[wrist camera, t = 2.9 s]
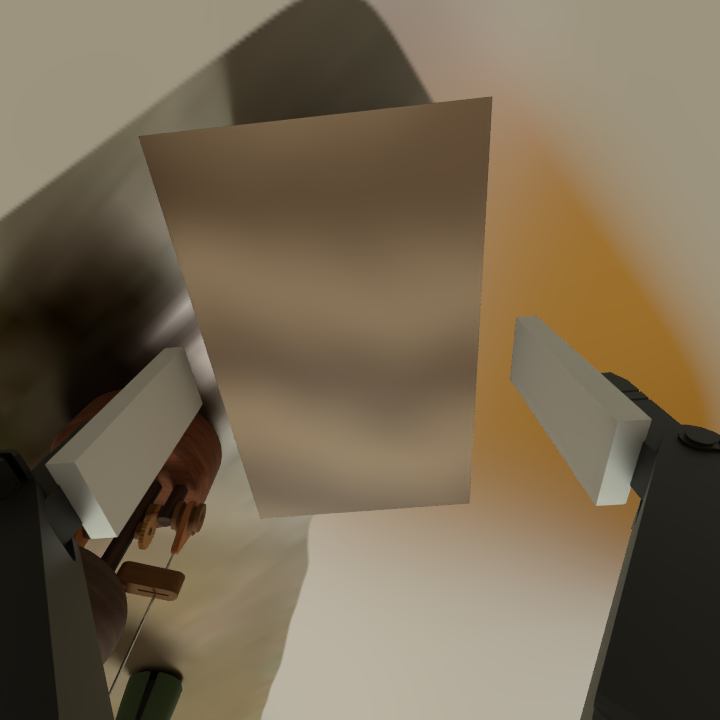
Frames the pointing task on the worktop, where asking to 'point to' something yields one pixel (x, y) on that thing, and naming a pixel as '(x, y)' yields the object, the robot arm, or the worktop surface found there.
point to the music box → (147, 528)
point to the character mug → (149, 697)
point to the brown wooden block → (338, 296)
